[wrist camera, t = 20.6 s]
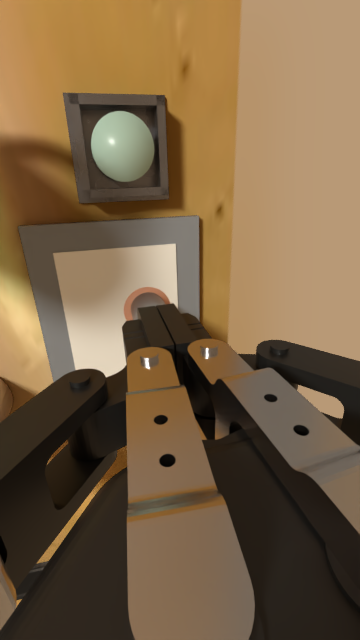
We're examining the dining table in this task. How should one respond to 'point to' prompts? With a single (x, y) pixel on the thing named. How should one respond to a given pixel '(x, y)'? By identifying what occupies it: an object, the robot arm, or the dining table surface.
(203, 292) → the dining table surface
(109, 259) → the drawing board
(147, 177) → the button housing
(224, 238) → the dining table surface
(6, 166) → the dining table surface
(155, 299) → the grey cylindrical piece
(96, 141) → the button
